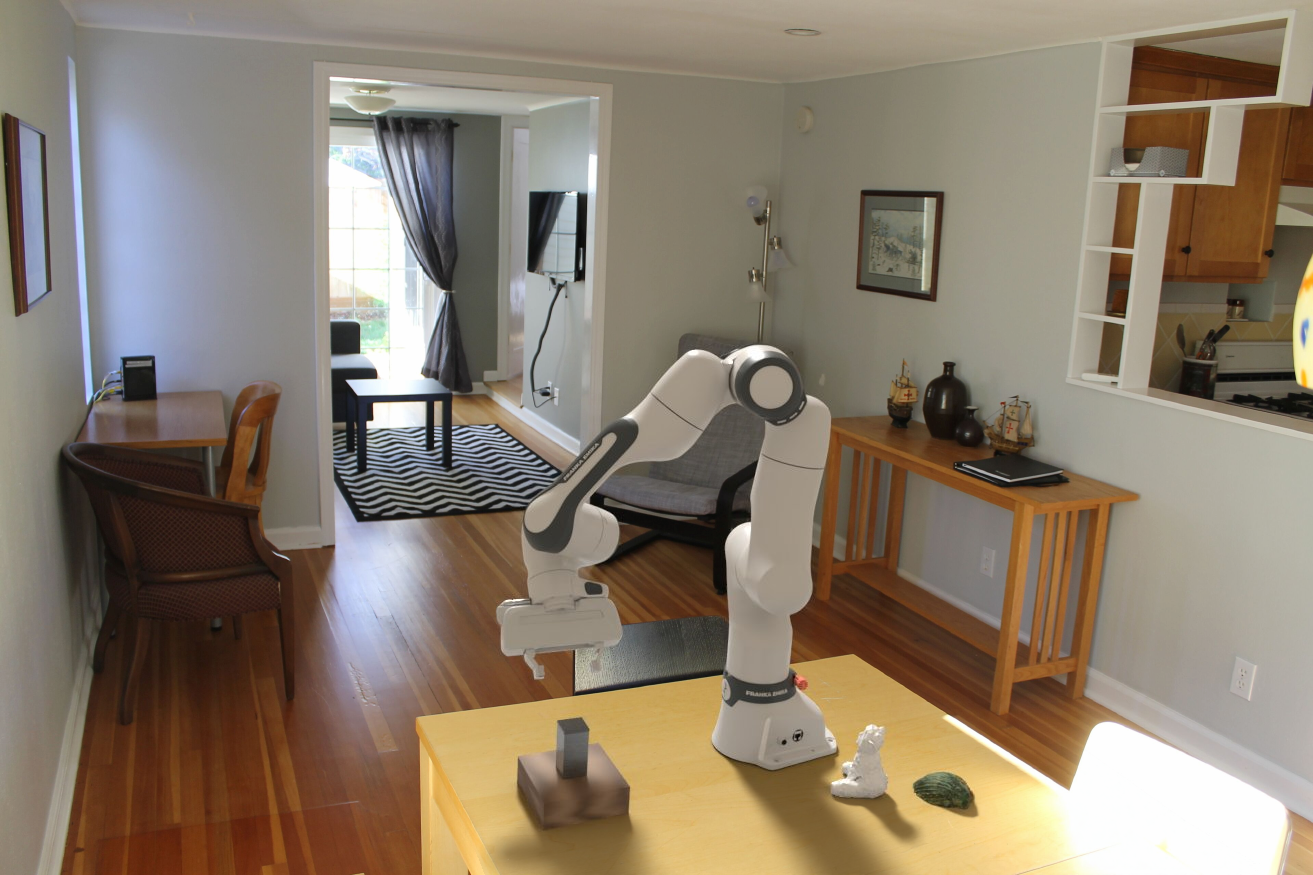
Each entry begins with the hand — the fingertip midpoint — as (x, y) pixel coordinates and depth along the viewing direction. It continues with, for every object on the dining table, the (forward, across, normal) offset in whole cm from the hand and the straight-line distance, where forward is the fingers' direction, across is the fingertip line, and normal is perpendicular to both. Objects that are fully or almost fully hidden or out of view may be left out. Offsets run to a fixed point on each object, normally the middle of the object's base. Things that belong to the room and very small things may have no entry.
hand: (568, 674), depth 164 cm
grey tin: (+14, -1, +4) cm, 15 cm away
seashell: (+28, +60, -2) cm, 66 cm away
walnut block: (+18, -1, +8) cm, 19 cm away
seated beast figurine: (+25, +47, +1) cm, 53 cm away
